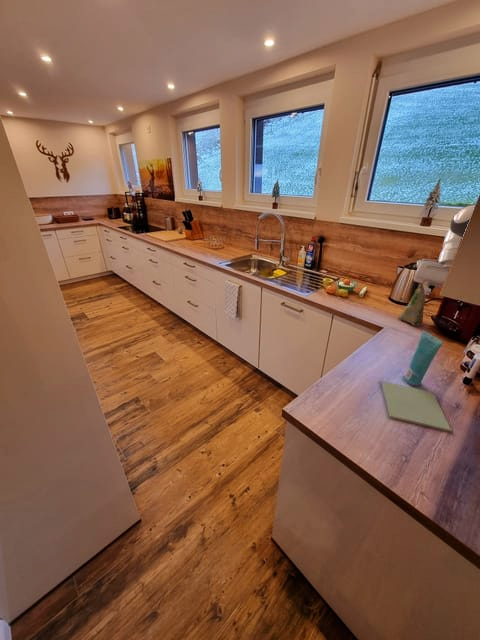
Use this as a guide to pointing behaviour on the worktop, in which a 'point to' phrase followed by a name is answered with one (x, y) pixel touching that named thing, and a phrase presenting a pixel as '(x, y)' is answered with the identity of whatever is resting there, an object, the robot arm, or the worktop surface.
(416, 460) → the worktop surface
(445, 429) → the mat
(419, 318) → the pouch
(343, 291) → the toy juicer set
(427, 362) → the tube
